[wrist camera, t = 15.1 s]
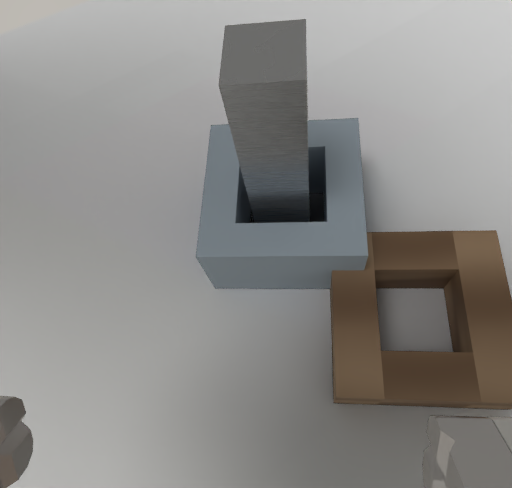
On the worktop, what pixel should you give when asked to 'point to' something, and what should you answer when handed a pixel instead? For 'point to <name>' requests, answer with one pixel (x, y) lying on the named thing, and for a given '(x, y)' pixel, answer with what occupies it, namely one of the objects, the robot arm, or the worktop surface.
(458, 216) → the worktop surface
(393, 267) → the socket block
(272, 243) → the block
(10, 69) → the worktop surface
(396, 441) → the worktop surface
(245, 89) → the tall brushed metal pillar
